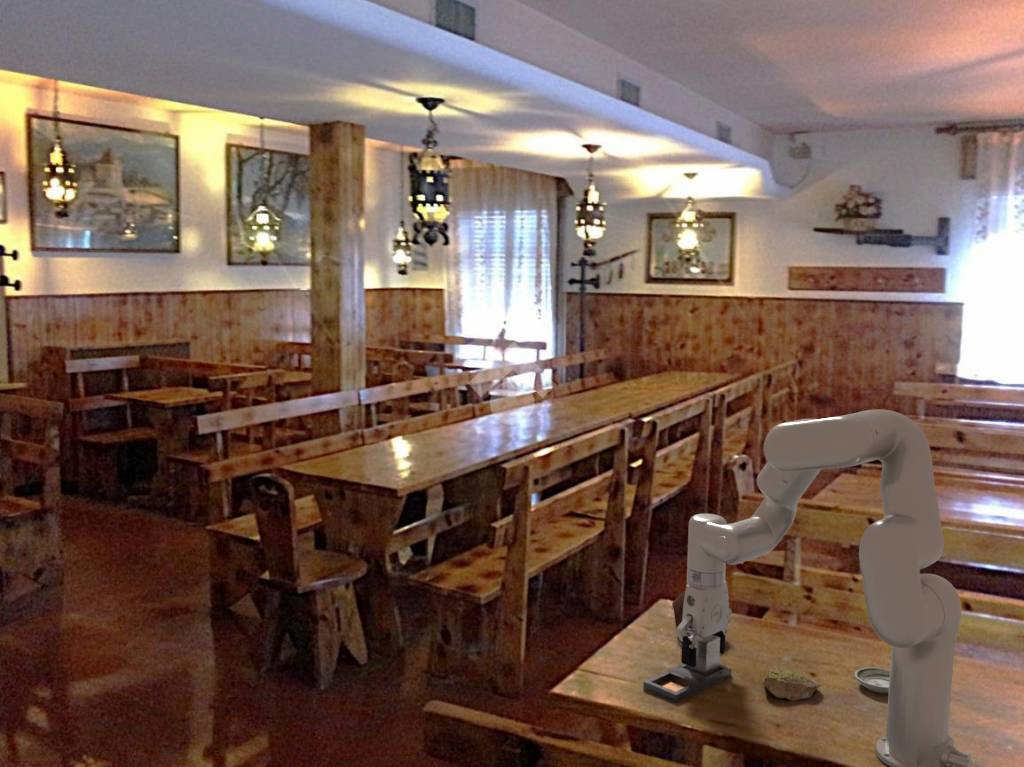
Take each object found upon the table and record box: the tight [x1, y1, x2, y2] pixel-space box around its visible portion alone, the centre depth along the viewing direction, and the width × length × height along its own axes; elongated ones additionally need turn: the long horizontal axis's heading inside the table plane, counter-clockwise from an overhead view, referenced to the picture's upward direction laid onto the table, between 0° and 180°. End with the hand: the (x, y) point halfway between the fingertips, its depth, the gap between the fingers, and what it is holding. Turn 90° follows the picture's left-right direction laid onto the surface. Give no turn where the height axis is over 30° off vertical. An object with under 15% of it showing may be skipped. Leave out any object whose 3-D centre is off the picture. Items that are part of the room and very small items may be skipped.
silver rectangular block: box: [687, 635, 721, 677], centre depth 194 cm, size 4×4×8 cm
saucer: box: [853, 666, 890, 695], centre depth 189 cm, size 10×10×2 cm
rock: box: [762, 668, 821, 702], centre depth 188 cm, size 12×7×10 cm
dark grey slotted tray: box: [643, 663, 732, 703], centre depth 191 cm, size 8×18×2 cm, turn 133°
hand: (703, 658), depth 194 cm, fingers open, 9 cm apart
